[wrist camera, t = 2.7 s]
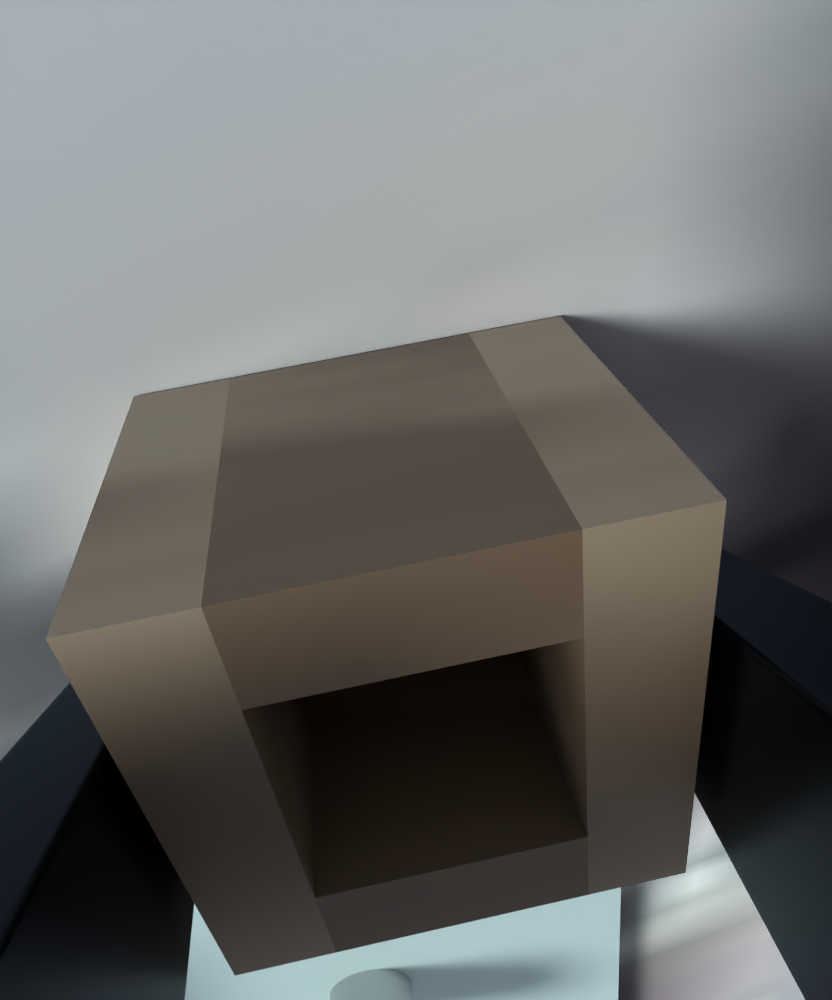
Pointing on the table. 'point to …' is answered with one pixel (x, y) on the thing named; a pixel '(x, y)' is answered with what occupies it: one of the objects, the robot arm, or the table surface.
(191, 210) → the table surface
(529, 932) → the board
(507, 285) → the table surface
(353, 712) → the block
